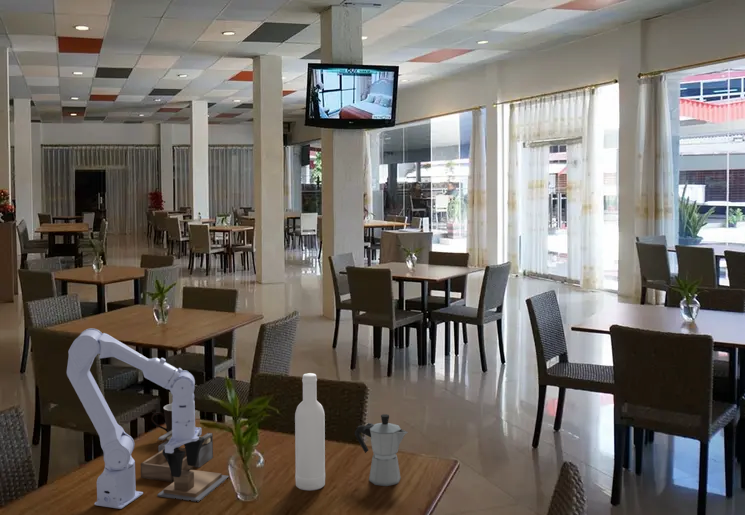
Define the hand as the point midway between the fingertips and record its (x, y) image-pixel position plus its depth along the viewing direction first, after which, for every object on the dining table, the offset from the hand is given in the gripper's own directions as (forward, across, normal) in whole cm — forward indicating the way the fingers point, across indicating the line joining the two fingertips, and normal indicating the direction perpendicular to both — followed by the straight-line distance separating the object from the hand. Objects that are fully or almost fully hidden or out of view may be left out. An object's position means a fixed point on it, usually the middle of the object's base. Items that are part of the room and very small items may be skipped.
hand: (184, 470), depth 188 cm
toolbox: (+6, +15, +12) cm, 20 cm away
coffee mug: (+6, +37, +26) cm, 45 cm away
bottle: (+6, +15, -29) cm, 33 cm away
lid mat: (+6, +5, 0) cm, 8 cm away
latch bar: (+1, +22, +12) cm, 25 cm away
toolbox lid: (+6, +4, 0) cm, 7 cm away
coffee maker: (+6, +24, -46) cm, 52 cm away
